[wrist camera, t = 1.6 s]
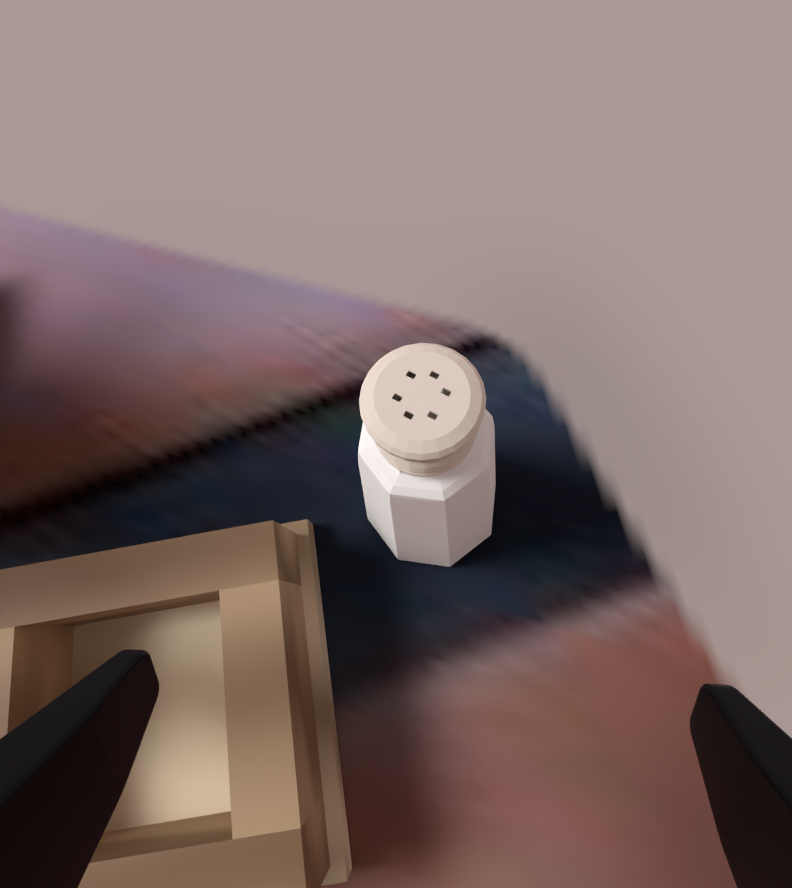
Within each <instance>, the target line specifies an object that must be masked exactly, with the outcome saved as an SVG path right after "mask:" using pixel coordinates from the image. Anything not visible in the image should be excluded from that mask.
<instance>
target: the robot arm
mask: <svg viewBox="0 0 792 888" xmlns="http://www.w3.org/2000/svg"><path fill="white" fill-rule="evenodd" d="M158 694H159V681H158V677H157V674H156V671H155V668H154V665H153V662H152V659H151V656H150V654H149V653H148V652H147V651H145V650H133V649H125V650H122V651H120V652H118V653H117V654H115V655H114V656H113V657H111V658H110V659H108V660H107V661H106V662H104V663H103V664H102V665H100V666H99V667H98V668H96V669H95V670H93V671H92V672H91V673H89V674H88V675H87V676H85V677H84V678H83V679H81V680H80V681H78V682H77V683H76V684H74V685H73V686H72V687H70V688H69V689H68V690H66V691H65V692H63V693H62V694H61V695H59V696H58V697H57V698H55V699H54V700H53V701H51V702H50V703H48V704H47V705H46V706H44V707H43V708H42V709H40V710H39V711H38V712H36V713H35V714H33V715H32V716H31V717H29V718H28V719H27V720H25V721H24V722H23V723H21V724H20V725H18V726H17V727H16V728H14V729H13V730H12V731H10V732H9V733H8V734H6V735H5V736H3V737H2V738H1V739H0V888H78V886H79V884H80V882H81V880H82V878H83V876H84V873H85V871H86V869H87V867H88V865H89V863H90V861H91V859H92V856H93V854H94V852H95V850H96V848H97V846H98V844H99V842H100V840H101V837H102V835H103V833H104V831H105V829H106V827H107V825H108V823H109V821H110V818H111V816H112V814H113V812H114V810H115V808H116V806H117V803H118V801H119V799H120V797H121V795H122V792H123V790H124V787H125V785H126V782H127V780H128V777H129V775H130V772H131V769H132V766H133V764H134V761H135V758H136V756H137V753H138V750H139V747H140V745H141V742H142V739H143V736H144V734H145V731H146V728H147V725H148V723H149V720H150V717H151V714H152V712H153V709H154V706H155V704H156V701H157V698H158ZM690 730H691V735H692V739H693V743H694V746H695V750H696V754H697V757H698V761H699V765H700V769H701V772H702V776H703V780H704V783H705V787H706V791H707V794H708V798H709V802H710V805H711V809H712V813H713V816H714V820H715V824H716V827H717V831H718V834H719V837H720V841H721V844H722V847H723V850H724V853H725V855H726V858H727V861H728V864H729V866H730V869H731V872H732V874H733V877H734V880H735V882H736V885H737V888H792V738H791V737H789V736H788V735H787V734H786V733H785V732H784V731H783V730H782V729H781V728H779V727H778V726H777V725H776V724H775V723H774V722H773V721H772V720H771V719H769V718H768V717H767V716H766V715H765V714H764V713H763V712H762V711H761V710H759V709H758V708H757V707H756V706H755V705H754V704H753V703H752V702H751V701H749V700H748V699H747V698H746V697H745V696H744V695H743V694H742V693H741V692H739V691H738V690H737V689H736V688H734V687H732V686H730V685H721V684H704V685H703V686H702V687H701V688H700V691H699V693H698V696H697V699H696V702H695V705H694V708H693V711H692V714H691V718H690Z"/></svg>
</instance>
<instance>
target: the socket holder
mask: <svg viewBox="0 0 792 888" xmlns="http://www.w3.org/2000/svg"><path fill="white" fill-rule="evenodd" d="M125 649H133V650H145V651H147V652H148V653H149V654H150V656H151V659H152V662H153V665H154V668H155V671H156V674H157V677H158V681H159V694H158V698H157V701H156V704H155V706H154V709H153V712H152V714H151V717H150V720H149V723H148V725H147V728H146V731H145V734H144V736H143V739H142V742H141V745H140V747H139V750H138V753H137V756H136V758H135V761H134V764H133V766H132V769H131V772H130V775H129V777H128V780H127V782H126V785H125V787H124V790H123V792H122V795H121V797H120V799H119V801H118V803H117V806H116V808H115V810H114V812H113V814H112V816H111V818H110V821H109V823H108V825H107V827H106V829H105V831H104V833H103V835H102V837H101V840H100V842H99V844H98V846H97V848H96V850H95V852H94V854H93V856H92V859H91V861H90V863H89V865H88V867H87V869H86V871H85V873H84V876H83V878H82V880H81V882H80V884H79V886H78V888H320V887H321V886H324V885H331V884H337V883H343V882H347V881H348V879H349V876H350V873H351V870H352V861H351V852H350V844H349V835H348V826H347V817H346V809H345V800H344V791H343V782H342V774H341V765H340V756H339V747H338V738H337V730H336V721H335V712H334V703H333V695H332V686H331V677H330V668H329V660H328V651H327V642H326V633H325V625H324V616H323V607H322V598H321V589H320V581H319V572H318V563H317V554H316V546H315V537H314V528H313V523H311V522H310V521H309V520H307V519H306V520H300V521H295V522H289V523H284V524H279V523H277V522H275V521H274V520H272V521H266V522H261V523H255V524H250V525H244V526H238V527H233V528H227V529H222V530H216V531H211V532H205V533H200V534H194V535H189V536H183V537H178V538H172V539H167V540H161V541H156V542H150V543H145V544H139V545H134V546H128V547H123V548H117V549H112V550H106V551H101V552H95V553H89V554H84V555H78V556H73V557H67V558H62V559H56V560H51V561H45V562H40V563H34V564H29V565H23V566H18V567H12V568H7V569H1V570H0V739H1V738H2V737H3V736H5V735H6V734H8V733H9V732H10V731H12V730H13V729H14V728H16V727H17V726H18V725H20V724H21V723H23V722H24V721H25V720H27V719H28V718H29V717H31V716H32V715H33V714H35V713H36V712H38V711H39V710H40V709H42V708H43V707H44V706H46V705H47V704H48V703H50V702H51V701H53V700H54V699H55V698H57V697H58V696H59V695H61V694H62V693H63V692H65V691H66V690H68V689H69V688H70V687H72V686H73V685H74V684H76V683H77V682H78V681H80V680H81V679H83V678H84V677H85V676H87V675H88V674H89V673H91V672H92V671H93V670H95V669H96V668H98V667H99V666H100V665H102V664H103V663H104V662H106V661H107V660H108V659H110V658H111V657H113V656H114V655H115V654H117V653H118V652H120V651H122V650H125Z"/></svg>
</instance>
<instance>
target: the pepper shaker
mask: <svg viewBox="0 0 792 888" xmlns="http://www.w3.org/2000/svg"><path fill="white" fill-rule="evenodd" d="M359 404H360V414H361V418H362V420H363V425H362V431H361V437H360V442H359V450H358V464H359V470H360V476H361V482H362V488H363V494H364V500H365V506H366V512H367V517H368V520H369V521H370V522H371V524H372V525H373V526H374V528H375V529H376V531H377V532H378V533H379V535H380V536H381V537H382V539H383V540H384V541H385V543H386V544H387V545H388V547H389V548H390V549H391V551H392V552H393V554H394V555H395V556H396V558H397V559H398V560H404V561H411V562H419V563H426V564H433V565H440V566H447V567H451V566H452V565H453V564H454V563H456V562H457V561H458V560H460V559H461V558H462V557H463V556H465V555H466V554H467V553H468V552H470V551H471V550H472V549H474V548H475V547H476V546H477V545H479V544H480V543H481V542H482V541H484V540H485V539H486V538H488V537H489V536H490V535H491V530H492V519H493V508H494V497H495V486H496V477H495V435H494V421H493V417H492V415H491V414H490V413H489V412H488V411H487V410H486V409H485V406H486V394H485V389H484V383H483V381H482V379H481V377H480V375H479V373H478V371H477V369H476V368H475V367H474V366H473V365H472V364H471V363H470V362H469V361H468V359H467V358H466V357H464V356H462V355H461V354H459V353H458V352H456V351H455V350H453V349H450V348H447V347H444V346H441V345H438V344H429V343H418V344H411V345H405V346H403V347H400V348H398V349H395V350H393V351H391V352H389V353H388V354H387V355H385V356H384V357H382V358H381V359H379V360H378V361H377V363H376V364H375V365H374V366H373V367H372V368H371V370H370V371H369V372H368V374H367V376H366V378H365V380H364V382H363V384H362V387H361V393H360V399H359Z"/></svg>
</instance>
